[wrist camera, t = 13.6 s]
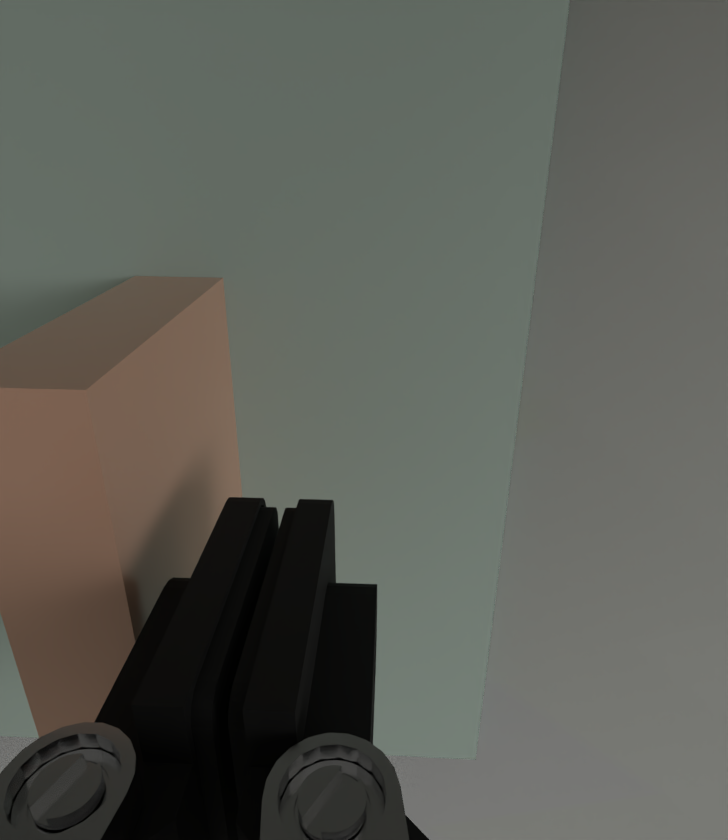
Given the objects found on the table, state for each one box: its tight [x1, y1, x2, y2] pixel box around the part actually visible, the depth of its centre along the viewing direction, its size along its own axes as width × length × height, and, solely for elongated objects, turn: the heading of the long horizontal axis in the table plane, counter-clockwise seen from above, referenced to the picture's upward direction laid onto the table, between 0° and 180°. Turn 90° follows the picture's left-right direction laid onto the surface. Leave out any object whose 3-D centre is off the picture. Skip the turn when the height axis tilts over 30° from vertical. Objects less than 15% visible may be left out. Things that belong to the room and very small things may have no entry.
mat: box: [0, 0, 570, 760], centre depth 14 cm, size 20×16×1 cm
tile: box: [0, 276, 242, 738], centre depth 11 cm, size 8×2×6 cm, turn 0°
